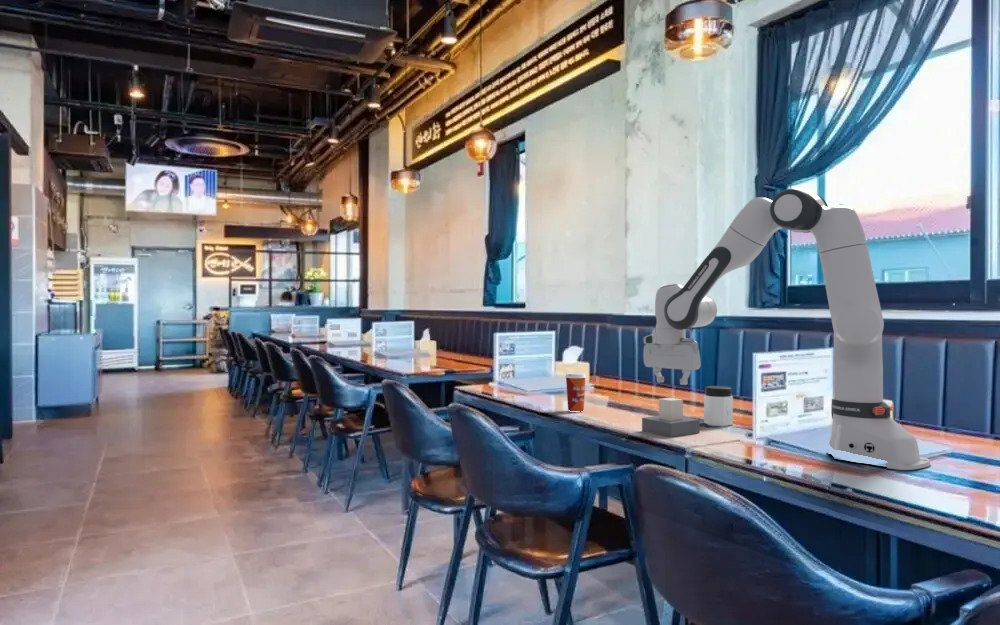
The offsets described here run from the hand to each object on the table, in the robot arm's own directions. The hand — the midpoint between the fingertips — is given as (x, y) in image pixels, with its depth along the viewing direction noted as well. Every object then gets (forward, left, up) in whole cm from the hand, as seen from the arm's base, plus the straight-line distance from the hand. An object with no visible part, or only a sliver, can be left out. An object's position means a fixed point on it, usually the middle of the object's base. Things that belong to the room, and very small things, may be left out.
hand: (671, 383), depth 199 cm
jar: (+1, -23, -15) cm, 27 cm away
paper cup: (+47, -1, -15) cm, 50 cm away
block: (0, 0, -11) cm, 11 cm away
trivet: (0, 0, -15) cm, 15 cm away
